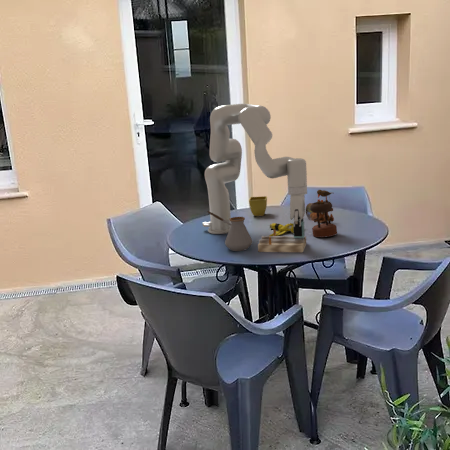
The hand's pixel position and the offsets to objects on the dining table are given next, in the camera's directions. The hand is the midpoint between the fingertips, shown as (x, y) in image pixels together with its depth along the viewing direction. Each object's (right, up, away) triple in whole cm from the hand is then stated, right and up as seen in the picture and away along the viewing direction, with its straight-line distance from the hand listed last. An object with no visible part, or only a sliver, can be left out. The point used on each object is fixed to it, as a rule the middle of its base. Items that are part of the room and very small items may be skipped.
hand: (299, 233), depth 213 cm
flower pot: (-12, +8, +60) cm, 62 cm away
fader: (0, -3, +1) cm, 3 cm away
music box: (+13, -1, +16) cm, 21 cm away
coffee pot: (-28, -6, +10) cm, 30 cm away
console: (-6, -6, +3) cm, 9 cm away
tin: (+14, +5, +41) cm, 44 cm away
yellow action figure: (-4, 0, +27) cm, 27 cm away
